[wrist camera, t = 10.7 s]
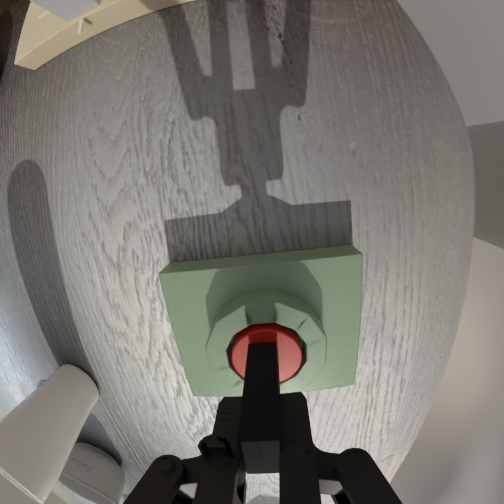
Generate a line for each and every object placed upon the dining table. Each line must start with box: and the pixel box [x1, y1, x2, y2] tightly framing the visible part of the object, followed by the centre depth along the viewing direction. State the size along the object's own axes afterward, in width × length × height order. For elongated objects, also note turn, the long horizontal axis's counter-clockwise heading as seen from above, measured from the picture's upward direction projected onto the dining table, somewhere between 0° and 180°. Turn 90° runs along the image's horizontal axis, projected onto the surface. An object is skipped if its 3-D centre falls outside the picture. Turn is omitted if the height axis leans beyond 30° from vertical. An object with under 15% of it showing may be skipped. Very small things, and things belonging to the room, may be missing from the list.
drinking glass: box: [0, 364, 99, 504], centre depth 15 cm, size 7×7×15 cm
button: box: [231, 322, 302, 382], centre depth 15 cm, size 4×4×2 cm
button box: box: [159, 245, 362, 396], centre depth 17 cm, size 12×10×4 cm
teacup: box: [58, 442, 125, 504], centre depth 23 cm, size 14×11×8 cm
